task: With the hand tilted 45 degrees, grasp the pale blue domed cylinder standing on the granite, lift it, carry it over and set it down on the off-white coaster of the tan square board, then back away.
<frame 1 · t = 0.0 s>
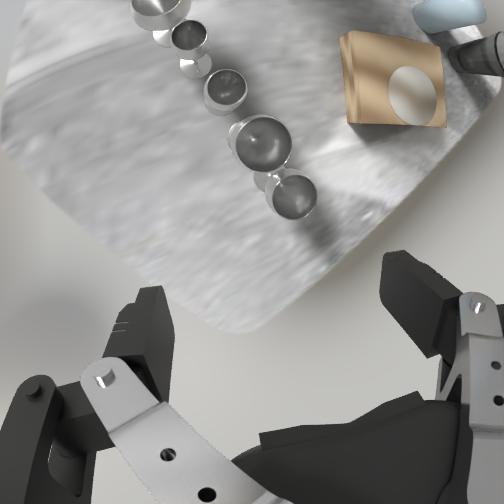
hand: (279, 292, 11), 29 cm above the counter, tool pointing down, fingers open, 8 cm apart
beverage cup: (457, 59, 34), on the counter
pale blue domed cylinder: (426, 18, 31), on the counter
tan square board: (388, 82, 35), on the counter
goblet set: (219, 98, 34), on the counter
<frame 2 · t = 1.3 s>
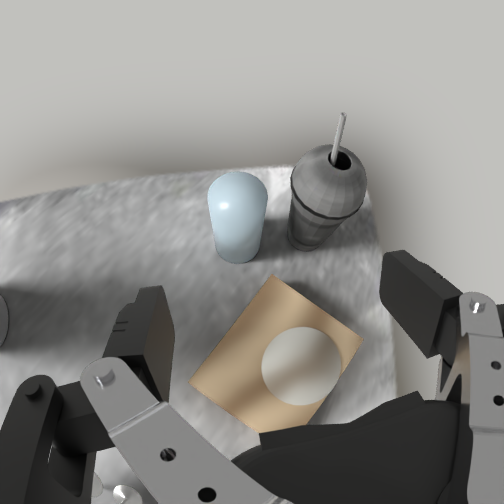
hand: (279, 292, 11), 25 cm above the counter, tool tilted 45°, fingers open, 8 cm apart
beverage cup: (304, 235, 39), on the counter
pale blue domed cylinder: (237, 242, 38), on the counter
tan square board: (274, 363, 33), on the counter
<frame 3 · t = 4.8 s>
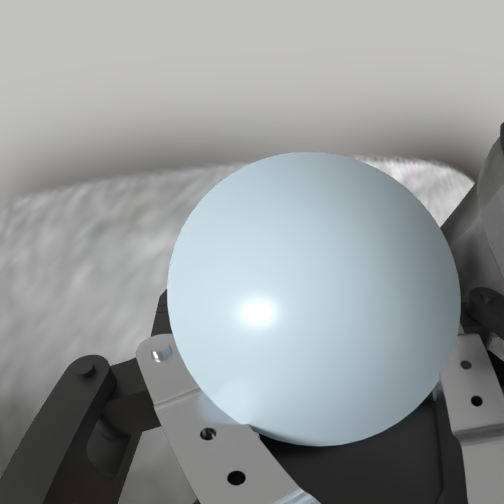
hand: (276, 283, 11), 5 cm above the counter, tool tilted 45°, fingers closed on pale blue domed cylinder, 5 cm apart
beverage cup: (415, 311, 16), on the counter, touching hand
pale blue domed cylinder: (273, 342, 15), on the counter, touching gripper
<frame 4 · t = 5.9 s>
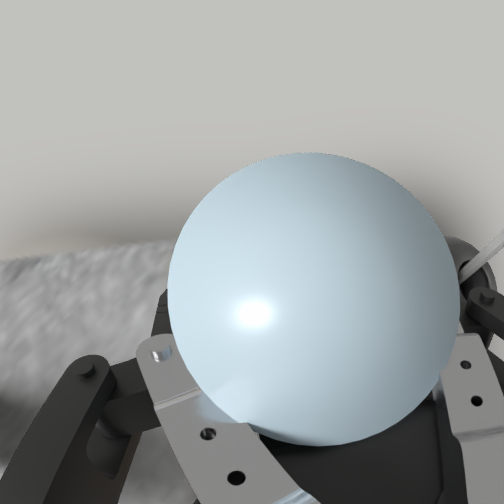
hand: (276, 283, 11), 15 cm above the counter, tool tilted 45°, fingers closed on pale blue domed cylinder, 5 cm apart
beverage cup: (361, 334, 25), on the counter
pale blue domed cylinder: (273, 342, 15), point 10 cm above the counter, touching gripper
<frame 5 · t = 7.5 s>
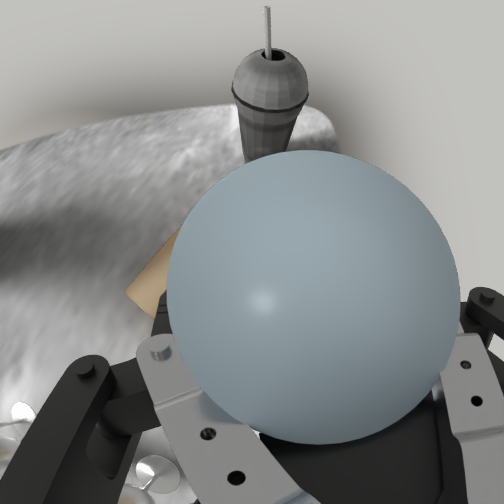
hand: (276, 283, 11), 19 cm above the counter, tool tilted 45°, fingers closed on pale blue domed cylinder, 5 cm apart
beverage cup: (262, 160, 37), on the counter
pale blue domed cylinder: (273, 341, 15), point 15 cm above the counter, touching gripper
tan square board: (225, 284, 31), on the counter
goblet set: (105, 457, 24), on the counter
when the fingers open (11 cm above the counter, at t = 10.5 s): pale blue domed cylinder drops 1 cm, resting on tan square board.
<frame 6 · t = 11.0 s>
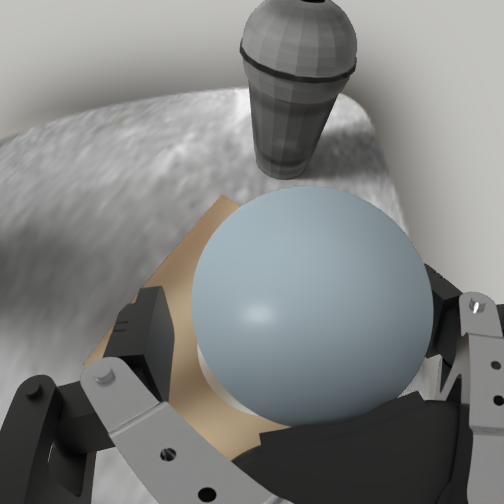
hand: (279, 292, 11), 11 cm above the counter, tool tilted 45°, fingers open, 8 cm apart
beverage cup: (281, 160, 27), on the counter
pale blue domed cylinder: (269, 347, 16), point 5 cm above the counter, touching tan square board
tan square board: (233, 345, 21), on the counter
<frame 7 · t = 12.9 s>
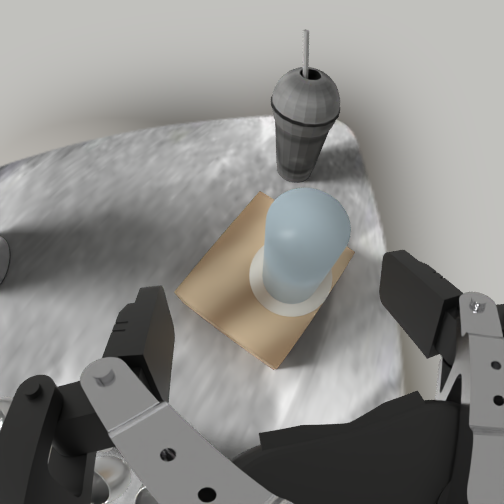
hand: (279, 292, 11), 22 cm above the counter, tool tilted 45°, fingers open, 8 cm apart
beverage cup: (293, 169, 40), on the counter
pale blue domed cylinder: (290, 275, 29), point 5 cm above the counter, touching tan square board
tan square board: (266, 284, 34), on the counter
goblet set: (145, 450, 27), on the counter
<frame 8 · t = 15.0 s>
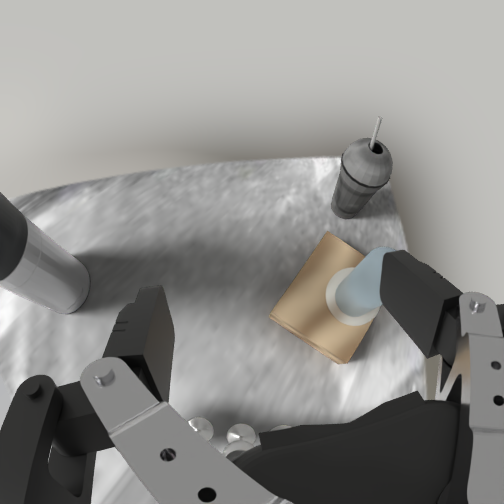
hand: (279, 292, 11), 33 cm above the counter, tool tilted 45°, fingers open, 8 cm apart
beverage cup: (343, 207, 50), on the counter
pale blue domed cylinder: (354, 296, 40), point 5 cm above the counter, touching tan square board
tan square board: (330, 301, 44), on the counter
goblet set: (239, 435, 37), on the counter
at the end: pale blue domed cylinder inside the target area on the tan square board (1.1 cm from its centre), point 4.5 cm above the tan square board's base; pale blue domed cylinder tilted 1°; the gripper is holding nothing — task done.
